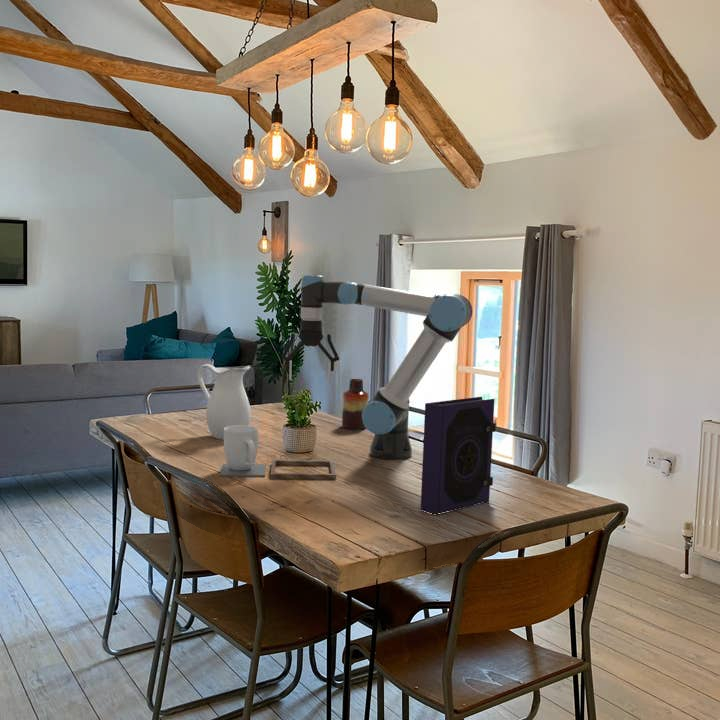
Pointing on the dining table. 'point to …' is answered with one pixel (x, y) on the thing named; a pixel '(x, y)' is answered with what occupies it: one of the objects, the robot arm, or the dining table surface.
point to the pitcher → (225, 399)
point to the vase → (354, 405)
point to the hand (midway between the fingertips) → (309, 380)
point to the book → (457, 454)
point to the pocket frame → (302, 475)
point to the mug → (240, 446)
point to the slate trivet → (245, 471)
